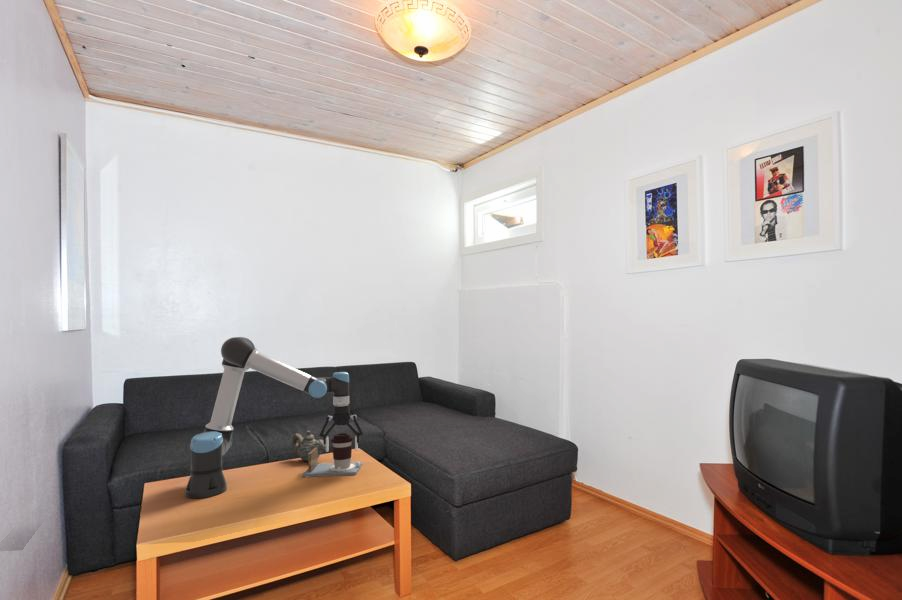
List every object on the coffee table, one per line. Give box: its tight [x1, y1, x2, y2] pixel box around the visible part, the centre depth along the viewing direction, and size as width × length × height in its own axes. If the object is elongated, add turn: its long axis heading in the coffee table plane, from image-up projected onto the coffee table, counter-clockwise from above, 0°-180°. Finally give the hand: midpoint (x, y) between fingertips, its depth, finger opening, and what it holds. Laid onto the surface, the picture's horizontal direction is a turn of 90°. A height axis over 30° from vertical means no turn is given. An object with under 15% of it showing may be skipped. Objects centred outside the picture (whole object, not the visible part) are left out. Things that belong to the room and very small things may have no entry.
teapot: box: [291, 430, 326, 462], centre depth 236 cm, size 21×12×15 cm, turn 68°
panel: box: [307, 447, 319, 472], centre depth 216 cm, size 3×12×8 cm, turn 2°
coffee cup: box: [330, 432, 354, 469], centre depth 217 cm, size 10×10×15 cm
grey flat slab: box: [302, 461, 363, 478], centre depth 217 cm, size 24×17×3 cm
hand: (341, 450), depth 217 cm, fingers open, 13 cm apart
